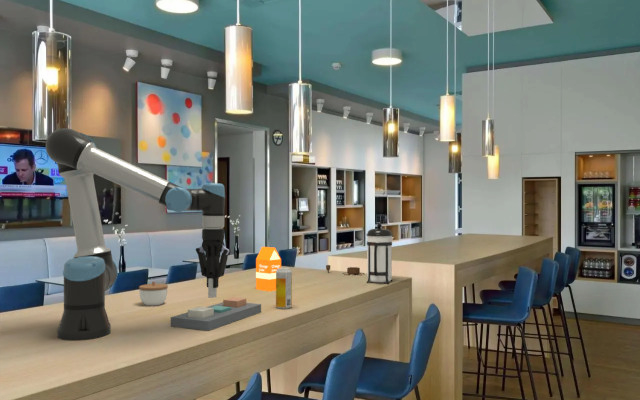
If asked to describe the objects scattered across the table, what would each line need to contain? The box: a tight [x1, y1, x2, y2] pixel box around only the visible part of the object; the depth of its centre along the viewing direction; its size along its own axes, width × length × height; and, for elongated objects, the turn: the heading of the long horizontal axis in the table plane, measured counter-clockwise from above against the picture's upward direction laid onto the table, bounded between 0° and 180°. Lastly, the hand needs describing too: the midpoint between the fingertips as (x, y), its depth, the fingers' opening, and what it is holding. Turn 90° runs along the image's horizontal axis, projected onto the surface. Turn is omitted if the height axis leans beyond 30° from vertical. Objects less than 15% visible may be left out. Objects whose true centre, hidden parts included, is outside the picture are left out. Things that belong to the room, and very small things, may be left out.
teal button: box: [211, 306, 231, 313], centre depth 189 cm, size 6×6×3 cm
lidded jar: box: [138, 281, 169, 307], centre depth 214 cm, size 11×11×9 cm
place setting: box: [325, 264, 365, 276], centre depth 305 cm, size 18×20×6 cm
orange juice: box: [255, 246, 282, 292], centre depth 250 cm, size 8×9×20 cm
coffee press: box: [366, 223, 393, 285], centre depth 270 cm, size 17×16×30 cm
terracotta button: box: [222, 296, 247, 308], centre depth 198 cm, size 6×6×3 cm
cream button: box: [187, 306, 214, 318], centre depth 180 cm, size 6×6×3 cm
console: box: [170, 301, 262, 332], centre depth 189 cm, size 32×15×3 cm, turn 155°
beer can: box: [275, 267, 293, 310], centre depth 209 cm, size 6×6×15 cm
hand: (212, 297), depth 187 cm, fingers closed
